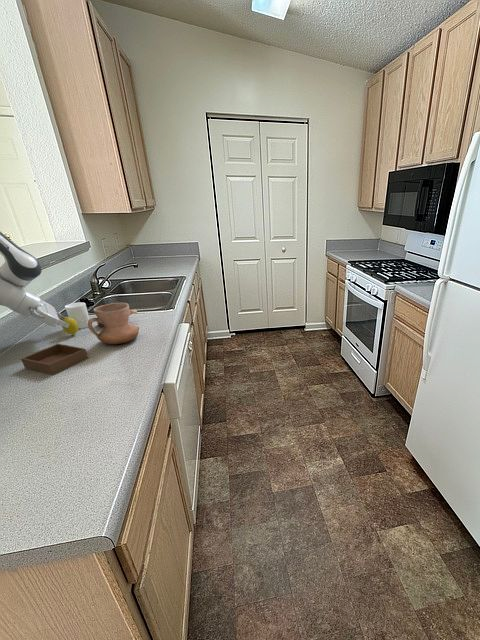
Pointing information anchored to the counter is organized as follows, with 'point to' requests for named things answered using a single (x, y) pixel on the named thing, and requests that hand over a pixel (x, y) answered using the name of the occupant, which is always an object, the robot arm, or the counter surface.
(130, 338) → the ceramic jug
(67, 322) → the lemon
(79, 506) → the counter surface
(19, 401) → the counter surface
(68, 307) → the white cup
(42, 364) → the tray
